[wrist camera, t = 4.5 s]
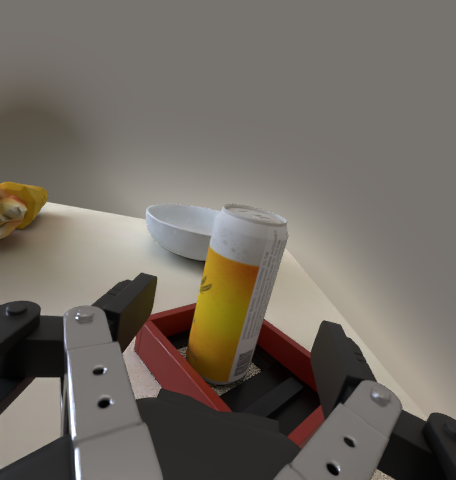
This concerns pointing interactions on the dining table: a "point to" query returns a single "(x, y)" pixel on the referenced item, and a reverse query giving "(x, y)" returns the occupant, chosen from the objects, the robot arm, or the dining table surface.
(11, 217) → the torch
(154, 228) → the serving bowl
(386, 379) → the dining table surface
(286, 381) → the red picture frame
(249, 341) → the lager tin can
